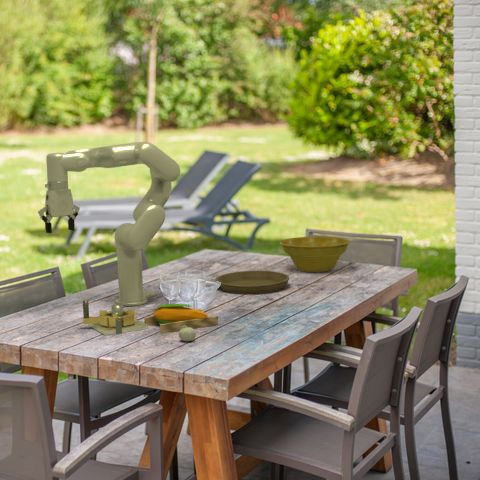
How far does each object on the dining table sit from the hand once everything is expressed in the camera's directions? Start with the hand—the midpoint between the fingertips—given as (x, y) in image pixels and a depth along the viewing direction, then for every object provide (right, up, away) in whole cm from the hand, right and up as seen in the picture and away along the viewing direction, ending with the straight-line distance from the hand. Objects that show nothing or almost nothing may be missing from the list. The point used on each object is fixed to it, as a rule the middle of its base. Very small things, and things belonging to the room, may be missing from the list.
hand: (60, 231), depth 363 cm
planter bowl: (+102, -17, +77) cm, 129 cm away
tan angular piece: (+22, -32, -23) cm, 45 cm away
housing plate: (+25, -34, -22) cm, 48 cm away
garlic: (+50, -37, -43) cm, 76 cm away
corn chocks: (+47, -33, -21) cm, 61 cm away
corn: (+47, -33, -22) cm, 61 cm away
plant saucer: (+73, -24, +42) cm, 87 cm away
